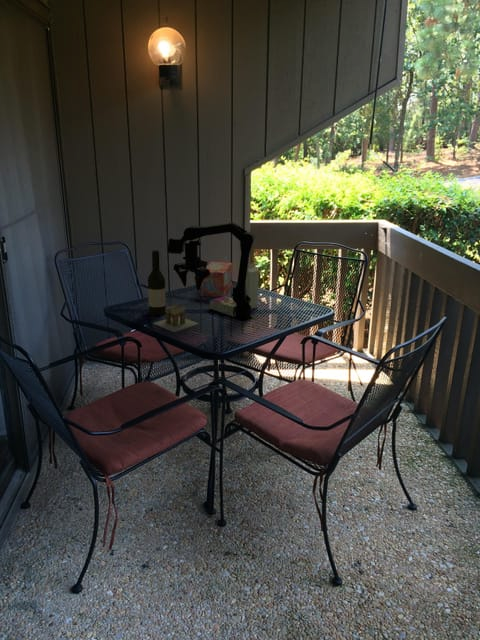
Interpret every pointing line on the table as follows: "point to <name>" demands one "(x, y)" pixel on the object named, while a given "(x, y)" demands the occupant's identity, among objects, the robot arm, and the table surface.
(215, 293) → the box
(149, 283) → the wine bottle
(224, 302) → the candy bar box
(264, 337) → the table surface
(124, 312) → the table surface
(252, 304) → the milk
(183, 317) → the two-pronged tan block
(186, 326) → the mat
